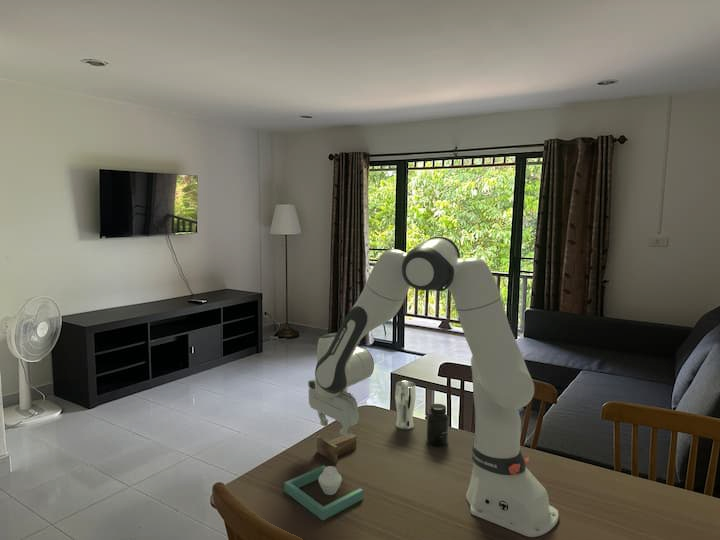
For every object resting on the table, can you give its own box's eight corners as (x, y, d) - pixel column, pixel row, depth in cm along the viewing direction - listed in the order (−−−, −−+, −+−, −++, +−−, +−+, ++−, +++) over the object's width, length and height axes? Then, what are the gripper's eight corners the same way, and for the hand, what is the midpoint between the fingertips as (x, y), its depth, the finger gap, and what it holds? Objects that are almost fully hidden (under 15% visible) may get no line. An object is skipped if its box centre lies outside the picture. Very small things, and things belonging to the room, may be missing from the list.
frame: (363, 499, 125) (363, 490, 125) (322, 520, 117) (322, 510, 116) (323, 473, 138) (323, 465, 137) (284, 491, 129) (284, 482, 128)
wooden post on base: (362, 451, 150) (362, 436, 150) (335, 463, 143) (335, 447, 143) (344, 441, 157) (344, 426, 156) (317, 452, 150) (317, 436, 149)
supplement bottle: (447, 448, 153) (448, 411, 151) (425, 445, 154) (426, 409, 153) (448, 438, 159) (449, 403, 158) (427, 436, 161) (428, 401, 159)
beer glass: (415, 430, 165) (416, 387, 163) (395, 430, 165) (396, 387, 163) (413, 421, 172) (414, 380, 170) (394, 421, 172) (394, 380, 170)
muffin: (319, 499, 125) (319, 473, 124) (317, 486, 131) (317, 461, 130) (343, 497, 126) (343, 471, 125) (340, 484, 132) (340, 459, 131)
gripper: (363, 392, 140) (364, 438, 142) (320, 375, 155) (322, 416, 157) (346, 398, 136) (347, 445, 137) (304, 380, 151) (305, 422, 153)
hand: (333, 430), depth 147 cm, fingers open, 8 cm apart
